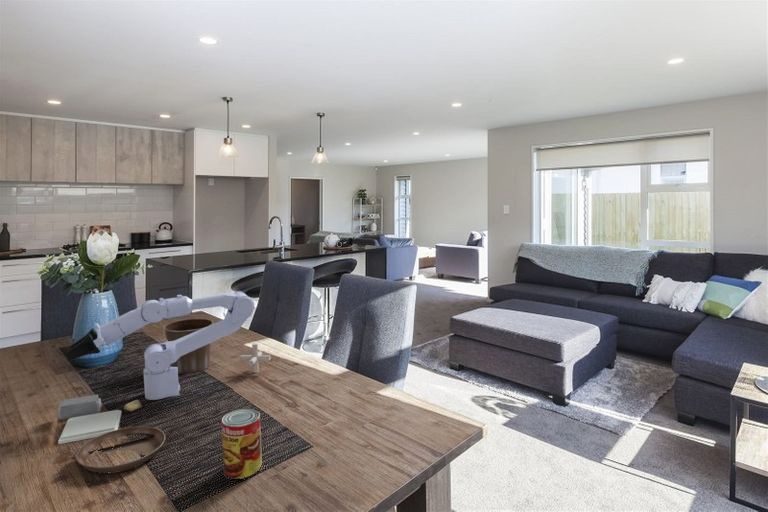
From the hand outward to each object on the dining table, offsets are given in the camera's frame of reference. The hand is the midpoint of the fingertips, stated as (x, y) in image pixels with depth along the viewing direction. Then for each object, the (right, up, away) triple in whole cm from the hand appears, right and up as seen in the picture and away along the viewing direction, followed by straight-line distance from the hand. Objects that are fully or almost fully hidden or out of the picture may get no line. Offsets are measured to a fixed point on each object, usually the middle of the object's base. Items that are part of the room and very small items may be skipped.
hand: (69, 353), depth 122 cm
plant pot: (+17, -14, +37) cm, 43 cm away
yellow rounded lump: (+16, -16, +4) cm, 23 cm away
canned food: (+55, -20, -24) cm, 63 cm away
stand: (+11, -18, -8) cm, 23 cm away
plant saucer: (+25, -20, -19) cm, 37 cm away
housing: (+3, -18, 0) cm, 18 cm away
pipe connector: (+41, -14, +33) cm, 55 cm away
